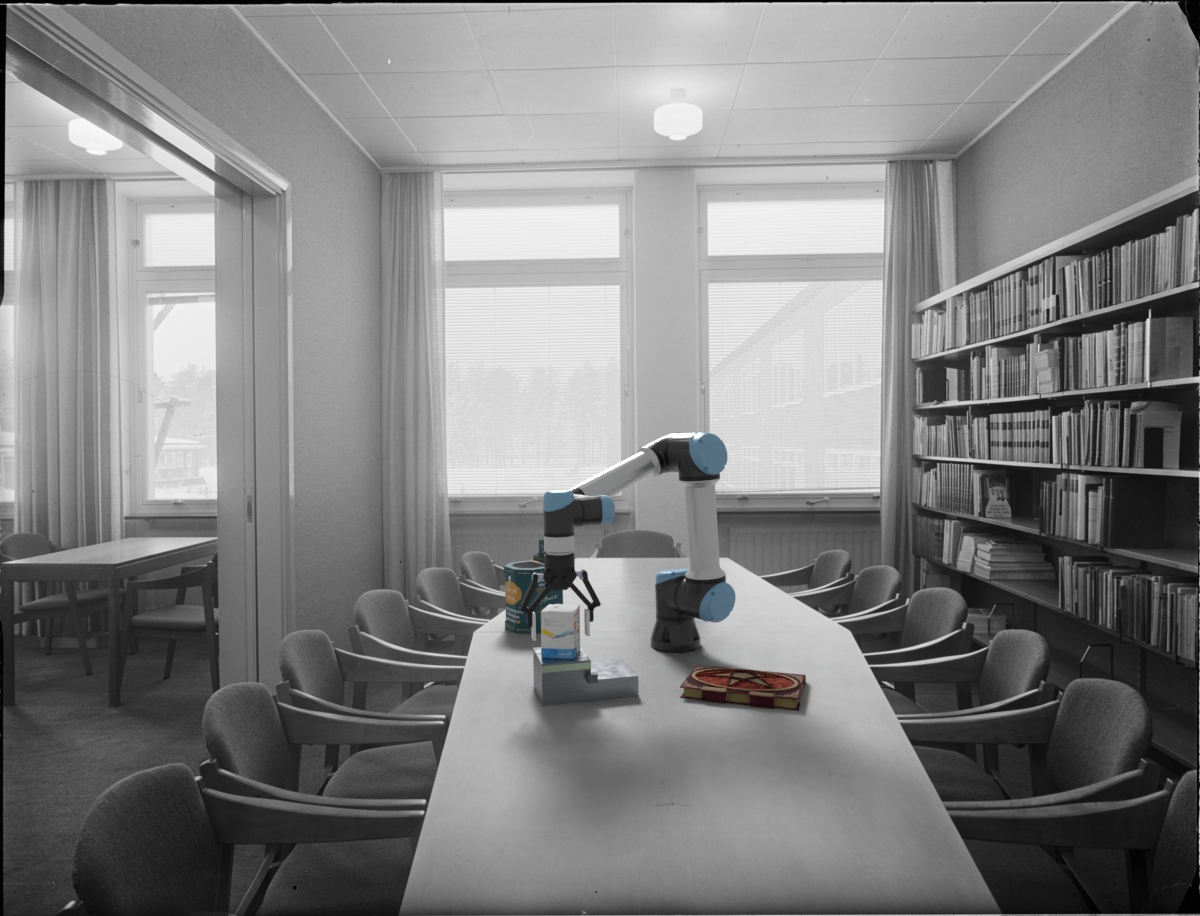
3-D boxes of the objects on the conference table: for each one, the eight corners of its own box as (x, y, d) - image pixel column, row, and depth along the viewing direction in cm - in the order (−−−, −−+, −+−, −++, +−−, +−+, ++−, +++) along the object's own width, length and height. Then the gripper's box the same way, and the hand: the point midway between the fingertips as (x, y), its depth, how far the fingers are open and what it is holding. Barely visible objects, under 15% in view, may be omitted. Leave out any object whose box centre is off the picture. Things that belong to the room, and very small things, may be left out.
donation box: (564, 627, 248) (563, 544, 247) (521, 636, 239) (520, 549, 238) (540, 618, 262) (539, 538, 261) (499, 625, 253) (497, 543, 252)
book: (805, 686, 192) (805, 667, 192) (798, 714, 172) (798, 693, 172) (697, 676, 202) (697, 657, 202) (678, 701, 182) (678, 680, 182)
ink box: (574, 659, 182) (573, 612, 181) (540, 658, 183) (539, 611, 182) (581, 649, 190) (580, 603, 190) (548, 648, 191) (548, 602, 191)
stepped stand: (623, 677, 198) (623, 640, 198) (641, 698, 182) (640, 658, 182) (533, 686, 192) (533, 647, 192) (543, 708, 177) (543, 667, 176)
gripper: (604, 547, 192) (605, 629, 193) (507, 552, 186) (509, 636, 187) (611, 552, 185) (612, 636, 186) (511, 557, 179) (512, 645, 180)
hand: (560, 637), depth 186 cm, fingers open, 13 cm apart
